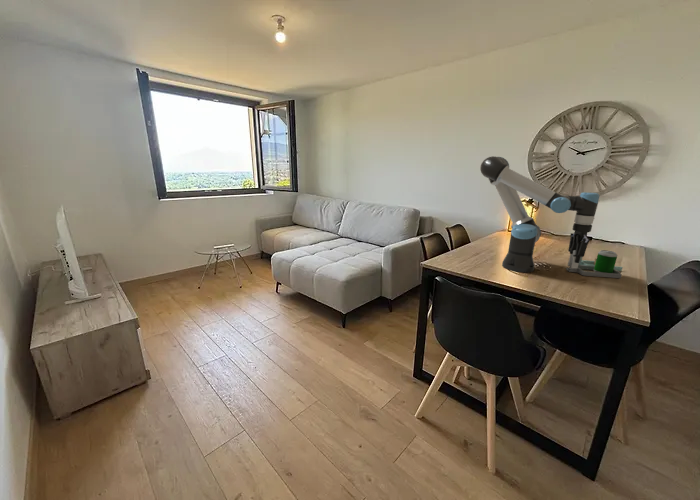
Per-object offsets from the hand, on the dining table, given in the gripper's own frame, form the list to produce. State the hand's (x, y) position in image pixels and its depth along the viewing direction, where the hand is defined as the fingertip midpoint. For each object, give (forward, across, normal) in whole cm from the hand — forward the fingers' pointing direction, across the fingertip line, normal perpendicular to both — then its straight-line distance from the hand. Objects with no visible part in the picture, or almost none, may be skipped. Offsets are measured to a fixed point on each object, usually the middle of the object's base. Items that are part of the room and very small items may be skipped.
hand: (572, 266), depth 153 cm
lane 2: (+2, +12, -17) cm, 21 cm away
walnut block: (+3, +12, -20) cm, 23 cm away
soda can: (+3, 0, -14) cm, 15 cm away
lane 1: (+2, 0, -9) cm, 9 cm away
